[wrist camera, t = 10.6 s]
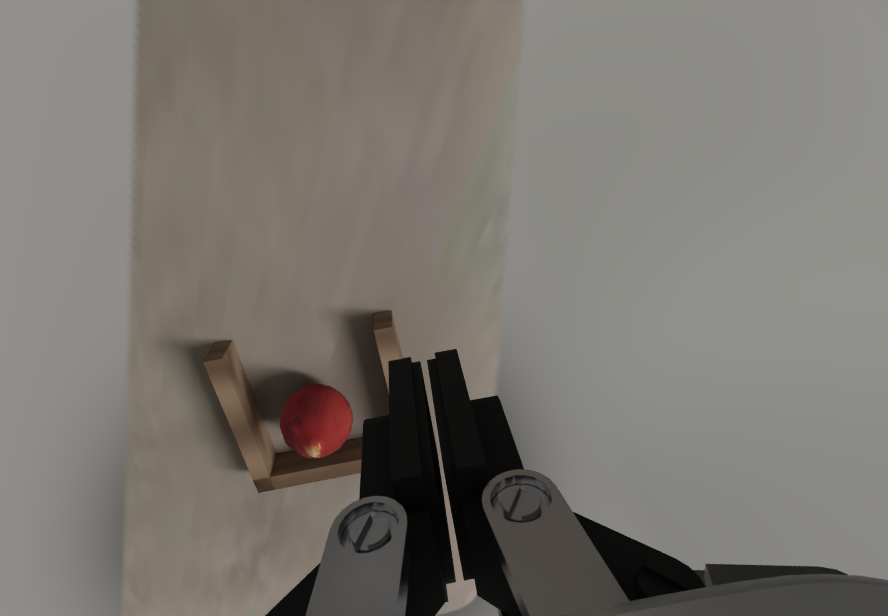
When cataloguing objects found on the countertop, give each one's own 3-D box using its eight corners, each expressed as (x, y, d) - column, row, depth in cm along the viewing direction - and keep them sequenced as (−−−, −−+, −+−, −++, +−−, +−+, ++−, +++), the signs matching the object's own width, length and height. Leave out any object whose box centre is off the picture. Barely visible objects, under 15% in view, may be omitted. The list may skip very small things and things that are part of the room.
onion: (298, 426, 47) (283, 490, 40) (280, 373, 45) (260, 433, 38) (360, 414, 47) (356, 476, 40) (346, 361, 45) (339, 418, 38)
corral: (214, 343, 43) (203, 362, 40) (391, 310, 43) (392, 326, 41) (265, 469, 49) (258, 492, 46) (420, 439, 49) (422, 460, 47)
